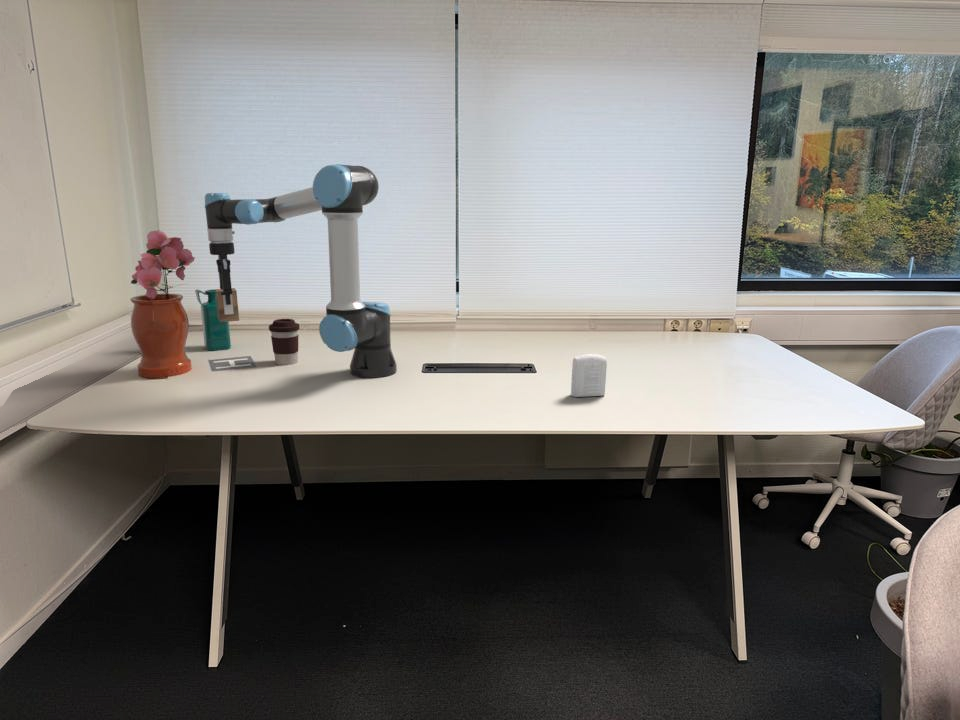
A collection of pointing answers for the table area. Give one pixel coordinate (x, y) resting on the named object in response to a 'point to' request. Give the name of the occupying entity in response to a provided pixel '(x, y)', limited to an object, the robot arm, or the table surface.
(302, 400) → the table surface
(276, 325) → the coffee cup
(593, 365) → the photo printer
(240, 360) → the letter mat
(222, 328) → the pitcher
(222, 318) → the walnut block
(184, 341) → the potted flower
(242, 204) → the robot arm
